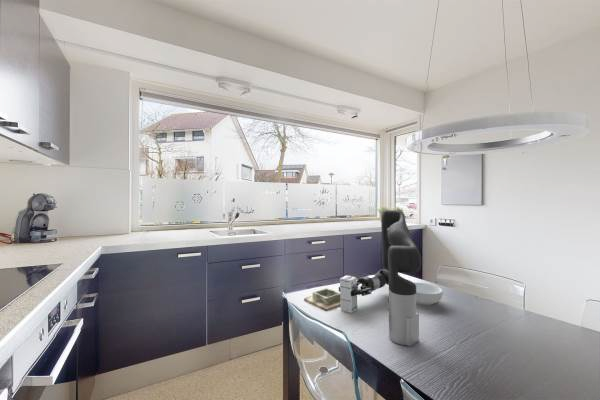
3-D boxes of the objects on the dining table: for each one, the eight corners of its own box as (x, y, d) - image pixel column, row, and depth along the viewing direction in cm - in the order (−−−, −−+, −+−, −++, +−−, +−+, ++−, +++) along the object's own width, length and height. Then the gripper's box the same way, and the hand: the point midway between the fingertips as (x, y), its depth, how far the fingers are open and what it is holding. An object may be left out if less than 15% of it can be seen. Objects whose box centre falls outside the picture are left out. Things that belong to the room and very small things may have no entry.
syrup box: (351, 313, 116) (351, 280, 116) (339, 309, 120) (339, 277, 120) (357, 308, 121) (357, 276, 121) (345, 305, 125) (345, 274, 124)
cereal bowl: (451, 307, 122) (451, 291, 122) (419, 311, 118) (419, 295, 118) (425, 294, 138) (425, 280, 138) (397, 297, 134) (397, 283, 134)
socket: (350, 301, 129) (350, 293, 129) (326, 310, 119) (326, 302, 119) (327, 292, 141) (327, 285, 141) (304, 300, 132) (304, 292, 132)
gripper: (356, 273, 135) (333, 279, 125) (380, 279, 124) (357, 287, 113) (356, 287, 135) (333, 295, 125) (381, 295, 124) (357, 305, 113)
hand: (345, 291), depth 119 cm, fingers closed on syrup box, 6 cm apart
